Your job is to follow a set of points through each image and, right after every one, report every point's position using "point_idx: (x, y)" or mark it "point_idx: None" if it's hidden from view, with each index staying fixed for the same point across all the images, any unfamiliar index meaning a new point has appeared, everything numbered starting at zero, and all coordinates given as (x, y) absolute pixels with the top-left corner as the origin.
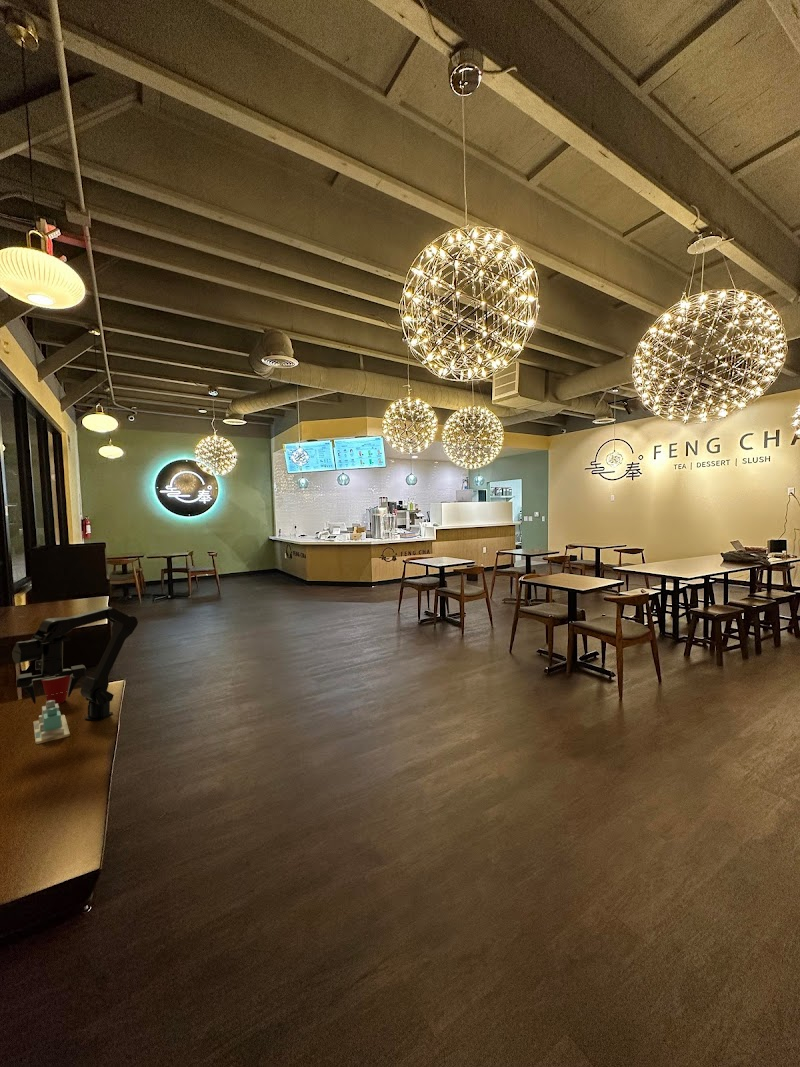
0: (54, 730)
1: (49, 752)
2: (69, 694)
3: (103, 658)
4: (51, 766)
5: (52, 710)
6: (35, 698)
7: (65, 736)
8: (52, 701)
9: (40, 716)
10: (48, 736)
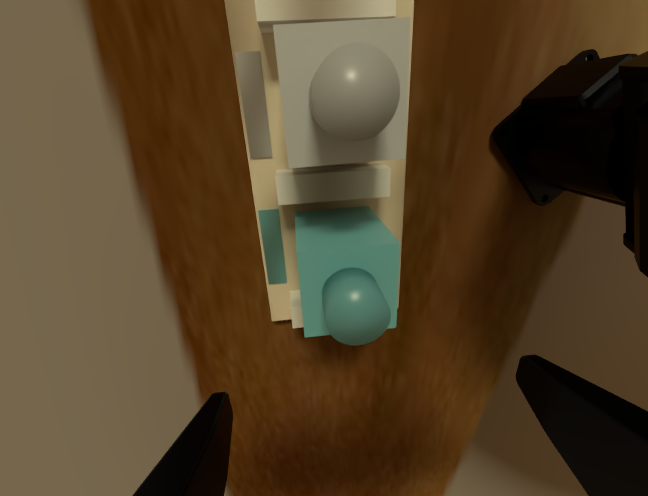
0: None
1: (321, 397)
2: (545, 412)
3: None
4: (326, 472)
5: (358, 344)
6: (220, 482)
7: None
8: (374, 112)
9: (266, 14)
10: None
